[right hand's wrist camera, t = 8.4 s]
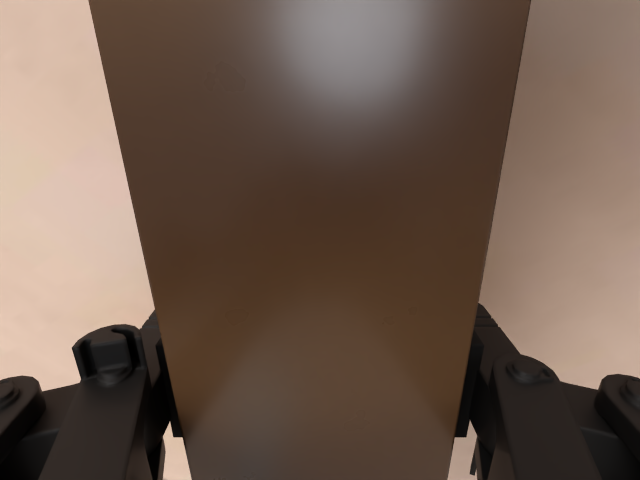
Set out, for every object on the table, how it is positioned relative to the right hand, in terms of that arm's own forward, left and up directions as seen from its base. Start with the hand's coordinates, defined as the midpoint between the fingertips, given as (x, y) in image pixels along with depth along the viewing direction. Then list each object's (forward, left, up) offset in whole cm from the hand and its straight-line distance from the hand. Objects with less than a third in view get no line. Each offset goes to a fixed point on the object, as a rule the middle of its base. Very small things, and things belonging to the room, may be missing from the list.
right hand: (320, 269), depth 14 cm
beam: (+19, -8, 0) cm, 21 cm away
